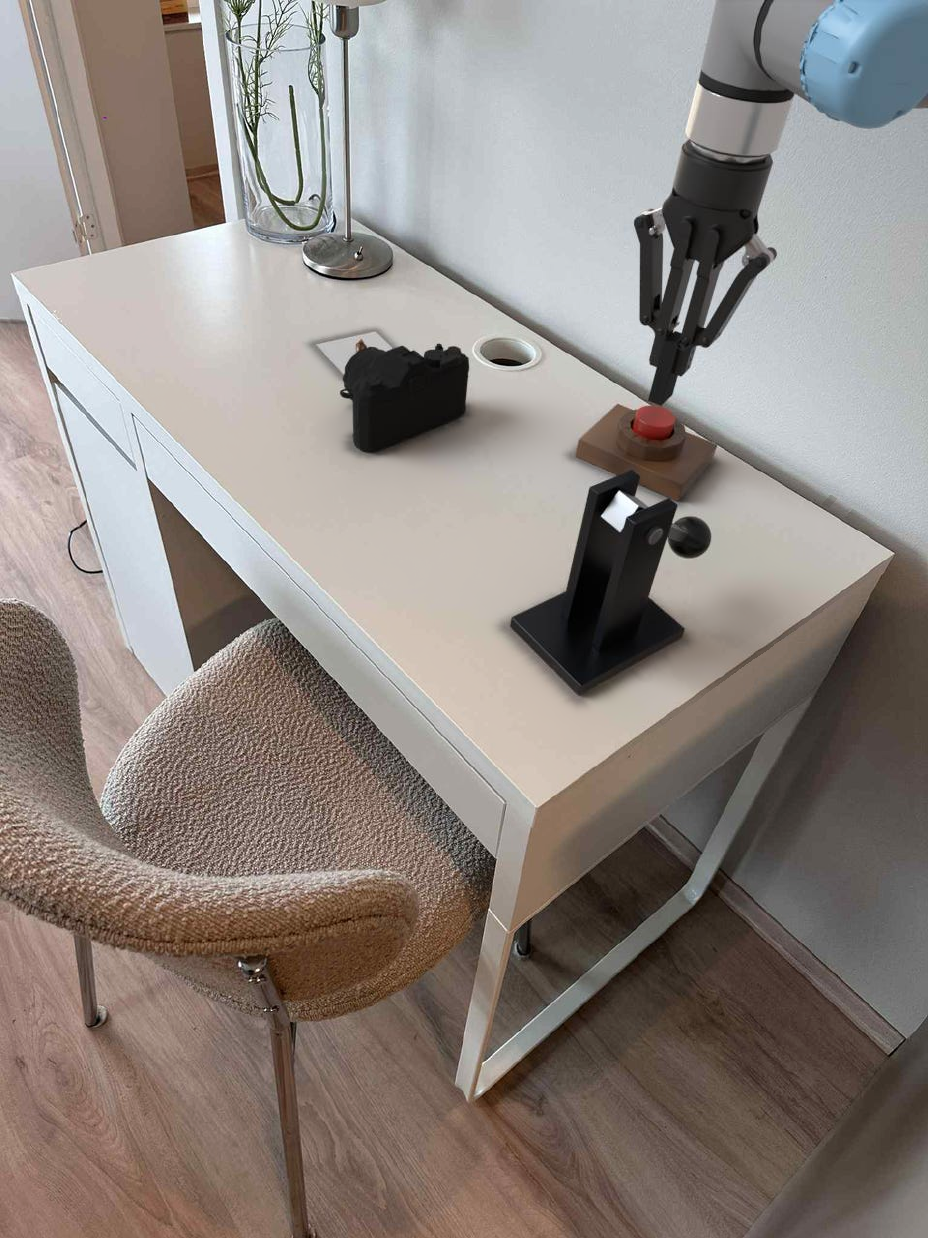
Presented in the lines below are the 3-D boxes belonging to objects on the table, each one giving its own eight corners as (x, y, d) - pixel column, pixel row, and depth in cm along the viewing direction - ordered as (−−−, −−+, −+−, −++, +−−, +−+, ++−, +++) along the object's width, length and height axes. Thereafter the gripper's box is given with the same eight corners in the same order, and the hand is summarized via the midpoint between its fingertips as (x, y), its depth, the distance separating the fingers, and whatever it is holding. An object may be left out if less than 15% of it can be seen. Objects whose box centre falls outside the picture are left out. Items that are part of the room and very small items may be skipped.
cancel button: (677, 429, 93) (681, 414, 91) (661, 446, 90) (665, 431, 89) (642, 414, 94) (646, 400, 93) (626, 431, 92) (629, 416, 90)
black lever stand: (611, 576, 81) (648, 441, 71) (682, 638, 76) (733, 503, 66) (509, 626, 76) (532, 488, 65) (578, 696, 71) (615, 559, 60)
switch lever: (670, 545, 78) (695, 512, 77) (700, 569, 76) (726, 535, 75) (589, 517, 67) (617, 478, 66) (621, 544, 65) (650, 504, 64)
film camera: (422, 376, 103) (426, 302, 96) (476, 416, 98) (483, 341, 91) (310, 416, 95) (306, 339, 89) (363, 461, 90) (362, 383, 84)
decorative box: (375, 331, 109) (375, 317, 108) (407, 362, 105) (407, 347, 103) (315, 344, 106) (315, 329, 104) (345, 377, 101) (345, 362, 100)
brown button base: (711, 461, 95) (722, 429, 92) (677, 501, 90) (688, 469, 87) (613, 420, 99) (620, 388, 97) (574, 456, 94) (581, 424, 91)
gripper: (820, 156, 72) (734, 405, 89) (675, 115, 77) (619, 360, 94) (789, 181, 68) (704, 438, 85) (638, 136, 72) (586, 389, 89)
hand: (660, 397), depth 89 cm, fingers closed
